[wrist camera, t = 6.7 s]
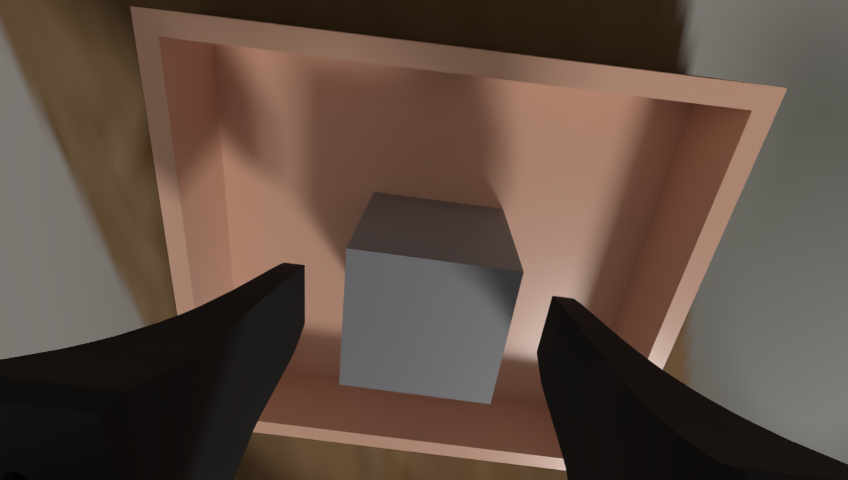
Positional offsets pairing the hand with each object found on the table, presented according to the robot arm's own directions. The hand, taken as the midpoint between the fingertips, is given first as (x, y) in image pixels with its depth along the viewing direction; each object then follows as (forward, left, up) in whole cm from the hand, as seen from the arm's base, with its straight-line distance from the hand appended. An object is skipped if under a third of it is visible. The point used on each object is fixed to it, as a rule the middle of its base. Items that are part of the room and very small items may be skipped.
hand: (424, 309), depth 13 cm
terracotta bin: (0, 0, -4) cm, 4 cm away
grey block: (0, 0, -4) cm, 4 cm away
